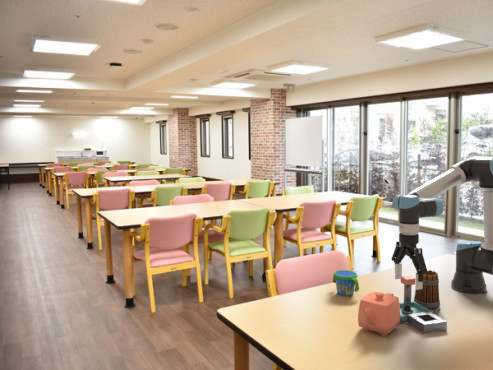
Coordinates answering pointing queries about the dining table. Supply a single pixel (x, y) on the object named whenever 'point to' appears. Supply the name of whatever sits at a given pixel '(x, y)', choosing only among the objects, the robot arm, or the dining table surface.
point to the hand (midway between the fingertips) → (408, 283)
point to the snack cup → (346, 282)
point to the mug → (429, 291)
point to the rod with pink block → (407, 293)
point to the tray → (416, 309)
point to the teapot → (379, 312)
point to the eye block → (426, 322)
